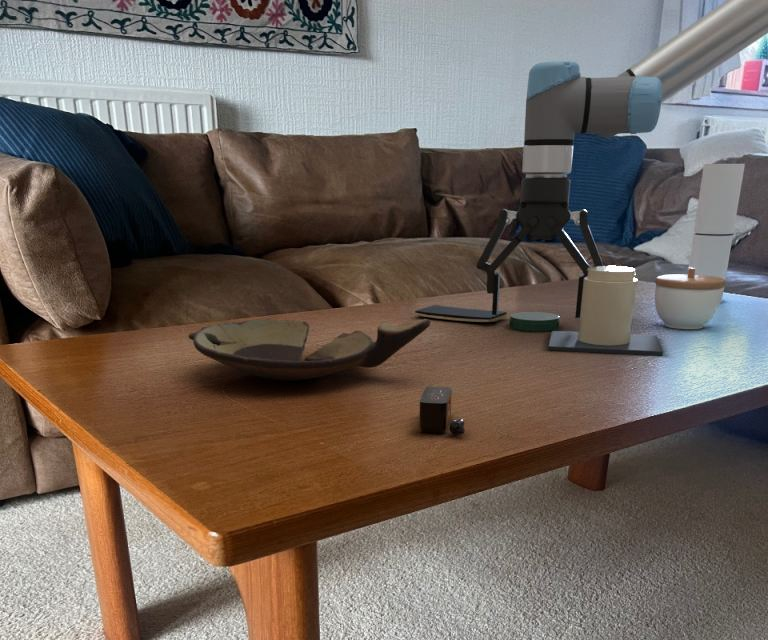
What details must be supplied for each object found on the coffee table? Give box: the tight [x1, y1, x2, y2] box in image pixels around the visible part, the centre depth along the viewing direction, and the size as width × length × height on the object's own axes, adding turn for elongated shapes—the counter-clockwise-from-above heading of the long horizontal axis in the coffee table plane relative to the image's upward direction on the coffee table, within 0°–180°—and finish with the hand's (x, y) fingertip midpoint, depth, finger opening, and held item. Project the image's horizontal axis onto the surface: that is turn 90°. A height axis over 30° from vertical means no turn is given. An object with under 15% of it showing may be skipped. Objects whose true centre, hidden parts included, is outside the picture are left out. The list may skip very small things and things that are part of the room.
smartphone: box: [414, 304, 508, 323], centre depth 138 cm, size 7×1×15 cm
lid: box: [508, 311, 560, 332], centre depth 131 cm, size 8×8×2 cm
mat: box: [547, 330, 664, 356], centre depth 118 cm, size 16×12×1 cm
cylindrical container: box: [687, 163, 746, 303], centre depth 151 cm, size 7×7×25 cm
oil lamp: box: [188, 318, 431, 382], centre depth 99 cm, size 22×30×8 cm
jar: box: [578, 265, 638, 346], centre depth 116 cm, size 8×8×10 cm
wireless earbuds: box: [418, 385, 465, 436], centre depth 80 cm, size 5×7×3 cm, turn 170°
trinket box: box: [654, 267, 726, 330], centre depth 129 cm, size 11×11×9 cm
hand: (535, 315), depth 130 cm, fingers open, 13 cm apart
